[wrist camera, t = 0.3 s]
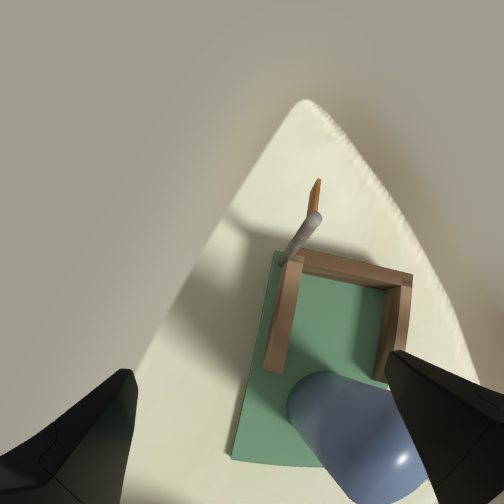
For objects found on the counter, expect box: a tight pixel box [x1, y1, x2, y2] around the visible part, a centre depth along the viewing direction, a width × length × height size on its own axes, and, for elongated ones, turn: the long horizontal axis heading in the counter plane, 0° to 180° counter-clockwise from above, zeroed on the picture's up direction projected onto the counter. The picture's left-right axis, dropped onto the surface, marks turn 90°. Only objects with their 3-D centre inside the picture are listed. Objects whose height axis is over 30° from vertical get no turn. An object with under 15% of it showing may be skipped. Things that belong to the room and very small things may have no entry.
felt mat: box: [231, 251, 388, 467], centre depth 23 cm, size 19×13×1 cm
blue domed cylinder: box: [286, 371, 428, 504], centre depth 15 cm, size 6×6×13 cm
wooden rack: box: [262, 178, 413, 384], centre depth 19 cm, size 12×12×10 cm
